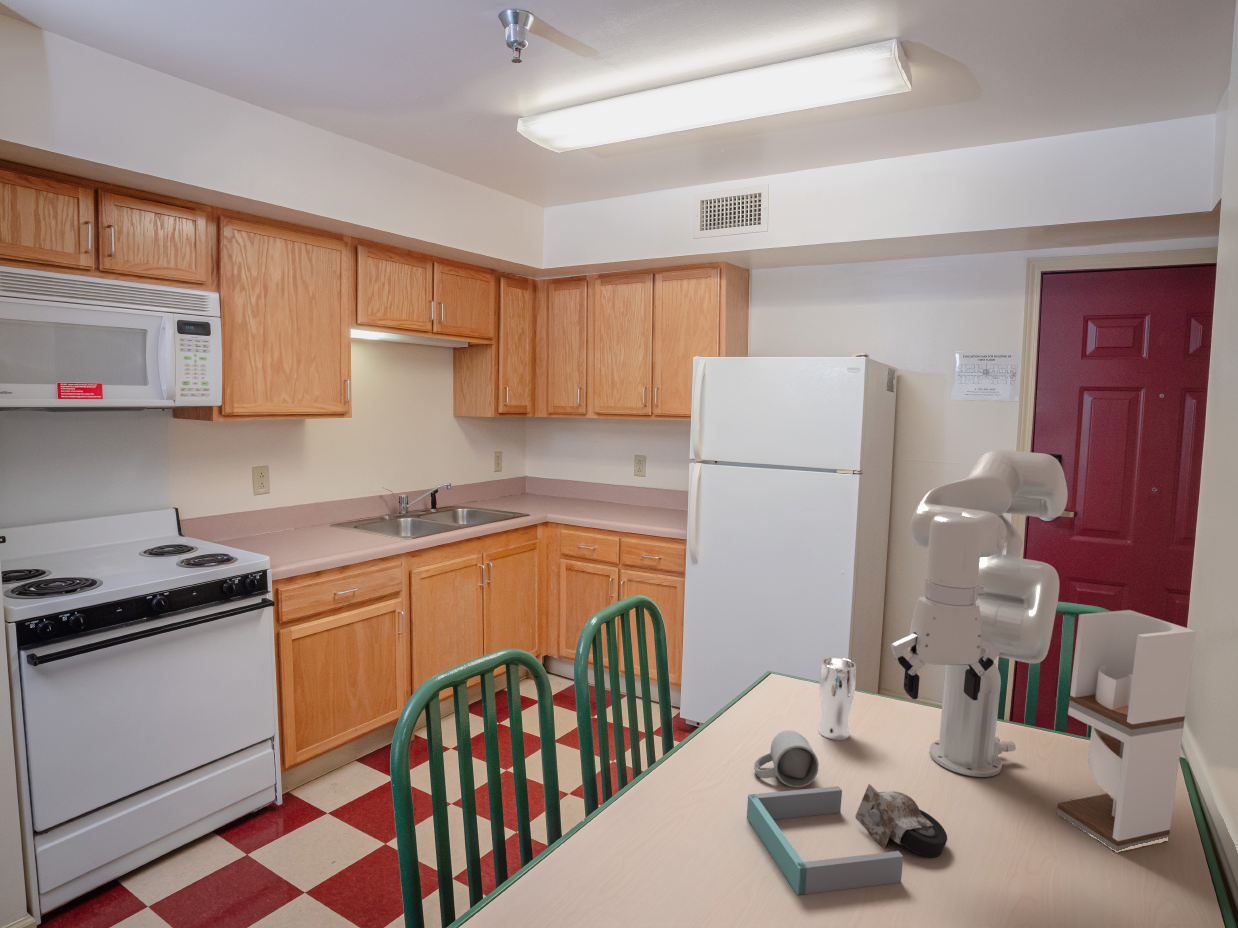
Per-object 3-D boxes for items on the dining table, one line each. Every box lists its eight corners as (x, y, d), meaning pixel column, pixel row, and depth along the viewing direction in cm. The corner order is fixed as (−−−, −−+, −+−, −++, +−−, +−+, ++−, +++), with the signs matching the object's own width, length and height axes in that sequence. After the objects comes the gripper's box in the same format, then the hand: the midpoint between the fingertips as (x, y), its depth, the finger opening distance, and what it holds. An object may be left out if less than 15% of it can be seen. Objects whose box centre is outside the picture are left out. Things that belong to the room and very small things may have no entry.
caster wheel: (948, 865, 114) (903, 873, 109) (895, 811, 123) (852, 817, 119) (964, 829, 112) (919, 836, 108) (909, 778, 122) (866, 783, 117)
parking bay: (836, 808, 123) (838, 785, 123) (901, 881, 106) (903, 856, 105) (746, 817, 120) (748, 794, 119) (797, 894, 102) (799, 868, 102)
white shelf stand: (1106, 804, 128) (1129, 609, 124) (1168, 841, 118) (1196, 630, 114) (1056, 814, 124) (1079, 614, 120) (1116, 853, 114) (1143, 636, 110)
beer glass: (851, 728, 152) (857, 659, 151) (850, 744, 146) (856, 671, 144) (817, 722, 155) (822, 654, 153) (814, 737, 148) (819, 666, 146)
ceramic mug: (806, 764, 137) (808, 725, 136) (818, 788, 129) (820, 747, 128) (750, 763, 137) (751, 724, 137) (757, 787, 129) (759, 746, 128)
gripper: (991, 587, 120) (981, 687, 122) (886, 585, 119) (878, 685, 121) (1017, 601, 112) (1006, 707, 115) (906, 599, 112) (897, 705, 114)
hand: (940, 696), depth 118 cm, fingers open, 9 cm apart
